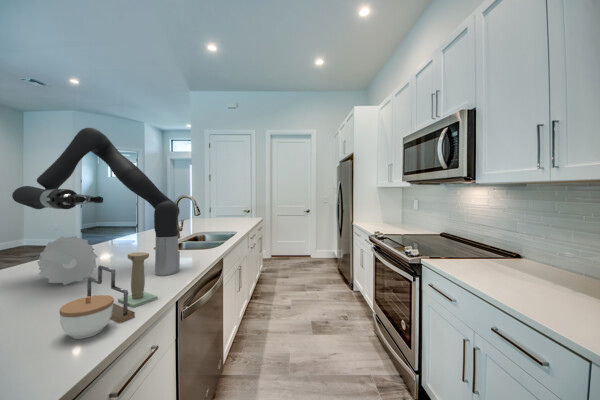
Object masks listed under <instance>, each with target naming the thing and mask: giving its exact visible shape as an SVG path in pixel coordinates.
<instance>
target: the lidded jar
mask: <svg viewBox="0 0 600 400" xmlns="http://www.w3.org/2000/svg"><path fill="white" fill-rule="evenodd" d="M114 302H115V298H114V297H113V296H112V295H103V294H102V295H101V294H99V295H95V296H94V295H91V296H88V297H87V296H85V297H81V298H78V299H75V300H72V301H69V302H68V303H65V304H63V305H62V306H61V307H60V308H59V318H60V319H59V320H60V326H61V330H62V331H63V332H64V333H65V334H66V335H67V336H69V337H72V339H73V340H74V339H75V340H82V339H88V338H91V337H93V336H96V335H98V334H99V333H101V332H102V331H103V330H104V328H106V326H107V325H108V323H109V322H110V320H111V319H110V318H111V316H112V312H113V303H114ZM114 304H115V303H114Z"/></svg>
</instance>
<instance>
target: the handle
mask: <svg viewBox="0 0 600 400" xmlns="http://www.w3.org/2000/svg"><path fill="white" fill-rule="evenodd" d="M149 257H150V252H149V253H148V252H141V251H140V252H138V251H137V252H130V253H128V254H127V259H129V260H130V261H131V263H132V267H131V277H130V279H131V280H130V290H131V295H132V298H133V299H139V298H141V297H143V294H144V293H143V292H145V285H146V284H145V283H146V282H145V281H146V280H145V279H146V278H145V277H146V276H145V260H146V259H148V258H149Z"/></svg>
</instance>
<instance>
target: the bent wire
mask: <svg viewBox="0 0 600 400" xmlns="http://www.w3.org/2000/svg"><path fill="white" fill-rule="evenodd" d="M103 271H104V272H105V271H106V272H109V273H110V289H111V290H114V291H116V292H119V293H121V294H123V297H124V304H122V305H123V306H121V305H118V304H116V303H113V312H112V316H111V318H110V320H112V321H114V322H117V323H118V324H121V323H123V322H126V321H128V320H129V321H130V320H131V319H133V318H135V315H136V314H135V313H136V312H135V311H133V310H131V309H128V308H129V306H128V296H129V291H128V289H124V288H122V287H118V286H117V285H116V269H113V268H111V267H108V266H104V265H98V267H97V279H96V278H94V277H91V276H88V277H87V279H86V281H87V285H86V286H87V288H86V289H87V290H86V291H87V293H86V297H88V296H92V283H95V284H97V285H102V283H103ZM93 296H96V295H93Z"/></svg>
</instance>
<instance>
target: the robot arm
mask: <svg viewBox="0 0 600 400" xmlns="http://www.w3.org/2000/svg"><path fill="white" fill-rule="evenodd" d="M90 152H91V153H93V154H94V155H95V156H97V157H99V159H101V160H102V161H103V162H104V163H105V164H106V165H107V166H108V167H109V169H110V170H111V172H112V173H113V174H114V176H115V177H116V178H117V180H118V181H119V182H121V183H122V184H123V185H124V186H125V187H126V188H127V189H128V190H129V191H131V192H132V193H133V194H135V195H136V196H138V197H140V198H142V199H143V200H145V201H146V202H147V203H149V205H150V206H152V207H153V209H154V213H153V219H154V220H153V221H154V222H153V223H154V224H153V226H154V228H153V229H154V232H155V247H154V248H155V249H154V250H155V254H154V255H155V260H154V262H155V263H154V271H155V272H154V274H155V275H156V276H170V275H174V274H176V273H177V272H180V260H181V258H180V257H181V255H180V254H181V253H180V250H179V229H178V217H179V215H180V207H179V206H178V204H177V203H176V202H174V201H173V200H172V199H171V198H169V197H168V196H167V195H165V193H163V192H162V191H161V190H160V189H159V188H158V187H157V186H156V185H155V183H153V181H152V180H151V179H150V178H149V177H148V176H147V175H146V174H145V173H144V171H142V170H141V169H140V168H139V167H138V166H137V165H136V164H134V163H133V162H132V161H131V160H129V158H127V157H126V156H125V155H123V154H122V153H121V152H120V151H119V150H118V149H117V147H116V146H115V145H114V143H112V142H111V141H110V139H109V137H107V135H105V134H104V133H103V132H101V131H100V130H99V129H96V128H94V127H85V128H84V127H83V128H82V129H80V130H79V131H78V132H77V134H75V136H74V137H73V139H72V140H71V141H70V143H69V144H68V146H67V147H66V148H65V149H64V151H63V152H62V153H61V154H60V156H59V157H58V158H57V159H56V160H55V161H53V163H52V164H51V165H49V167H48V168H47V169H45V170H44V171H43V172H42V173H41V174H40V175H39V176H38V177H37V179H36V182H37V183H38V184H39V185H40V186H41V187H43V188H41V187H36V186H31V185H23V186H20V187H18V188H16V189H14V190H13V192H12V194H11V196H12V197H11V198H12V200H13V201H14V202H16V203H18V204H20V205H23V206H26V207H29V208H31V209H35V210H43V209H45V208H49V209H54V210H55V209H56V210H71V209H73V208H75V207H76V206H80V205H89V204H103V202H104V197H102V196H100V195H99V196H98V195H97V196H95V195H94V196H91V195H89V194H81V193H80V194H78V193H77V192H75V191H74V190H72V189H69V188H60V187H61V186H62V185H63V184H65V182H67V180H68V179H69V178H70V177H71V176H72V175H73V174H74V172H75V170H76V168H77V166H78V165H79V163H80V162H81V161H82V159H83V158H84V157H85V156H86V155H88V154H89V153H90Z"/></svg>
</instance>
